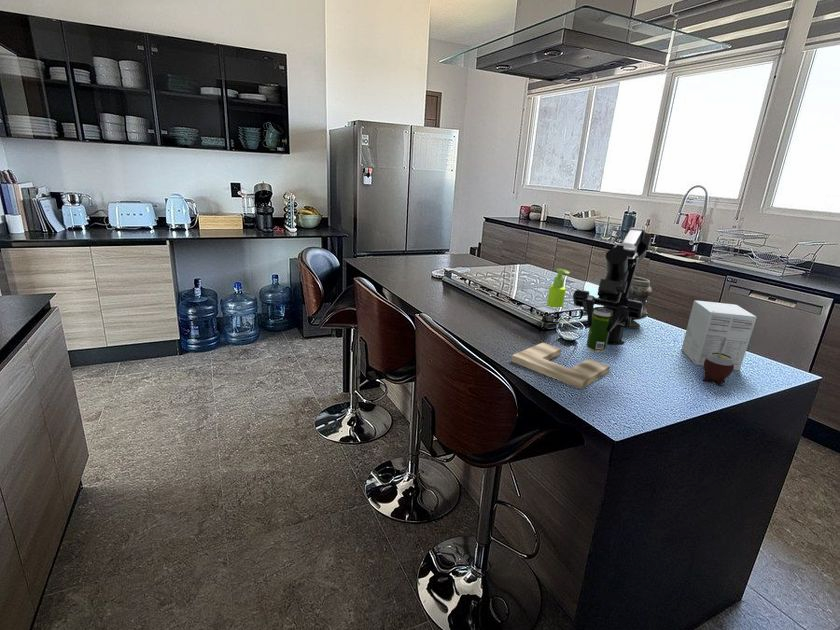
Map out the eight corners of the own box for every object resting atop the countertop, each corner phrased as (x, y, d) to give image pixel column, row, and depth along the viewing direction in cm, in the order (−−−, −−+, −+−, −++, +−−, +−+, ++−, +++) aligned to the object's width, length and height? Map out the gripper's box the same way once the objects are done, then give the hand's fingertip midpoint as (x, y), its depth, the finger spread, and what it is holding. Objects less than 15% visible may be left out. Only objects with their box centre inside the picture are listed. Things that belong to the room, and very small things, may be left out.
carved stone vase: (632, 319, 182) (643, 275, 177) (649, 330, 171) (662, 284, 165) (603, 317, 181) (614, 273, 175) (619, 328, 170) (631, 281, 164)
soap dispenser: (553, 324, 170) (562, 272, 164) (541, 318, 176) (549, 267, 170) (565, 323, 173) (574, 271, 166) (552, 317, 179) (561, 266, 172)
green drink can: (609, 352, 131) (617, 313, 127) (591, 353, 130) (599, 313, 126) (599, 345, 136) (606, 306, 132) (582, 345, 135) (589, 306, 131)
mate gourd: (717, 376, 135) (732, 328, 130) (736, 389, 127) (751, 339, 123) (693, 375, 134) (706, 327, 130) (710, 388, 127) (724, 337, 122)
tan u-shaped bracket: (542, 348, 147) (543, 342, 146) (608, 372, 133) (610, 366, 132) (511, 361, 136) (512, 355, 135) (580, 389, 121) (582, 382, 120)
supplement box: (741, 371, 140) (758, 317, 134) (694, 365, 142) (710, 311, 136) (722, 354, 152) (737, 304, 147) (680, 349, 154) (693, 299, 149)
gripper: (580, 262, 133) (563, 307, 128) (650, 274, 124) (634, 323, 119) (582, 283, 142) (566, 326, 137) (647, 295, 133) (633, 341, 128)
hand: (598, 328), depth 130 cm, fingers closed on green drink can, 5 cm apart
